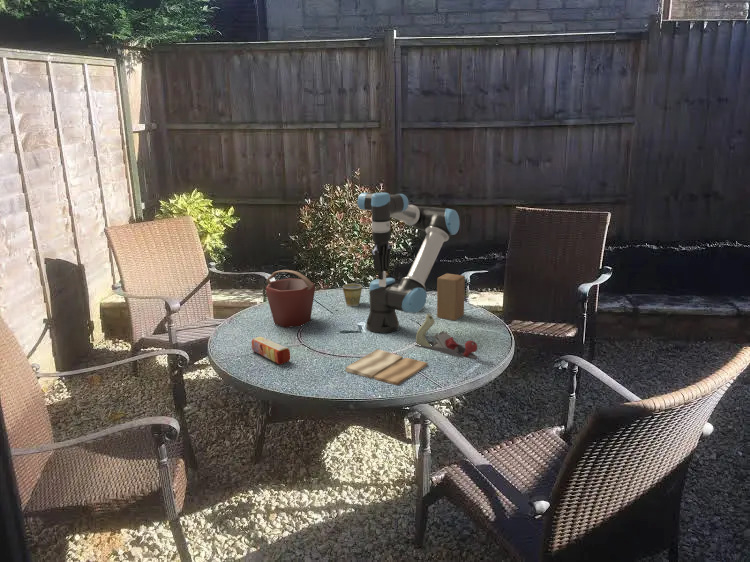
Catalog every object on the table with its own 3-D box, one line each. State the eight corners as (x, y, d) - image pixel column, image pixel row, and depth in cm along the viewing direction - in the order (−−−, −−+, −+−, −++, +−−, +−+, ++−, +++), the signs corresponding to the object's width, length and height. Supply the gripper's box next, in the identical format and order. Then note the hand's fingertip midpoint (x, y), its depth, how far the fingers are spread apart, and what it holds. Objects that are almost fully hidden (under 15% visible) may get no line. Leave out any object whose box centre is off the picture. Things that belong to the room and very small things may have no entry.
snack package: (250, 352, 266) (249, 337, 264) (264, 348, 270) (263, 333, 268) (277, 366, 251) (276, 350, 249) (291, 362, 255) (290, 346, 253)
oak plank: (374, 381, 235) (374, 376, 234) (405, 362, 252) (405, 357, 252) (397, 387, 229) (397, 382, 229) (427, 367, 247) (427, 362, 246)
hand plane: (419, 341, 275) (419, 308, 272) (480, 358, 256) (481, 323, 252) (409, 345, 270) (409, 312, 266) (471, 363, 251) (472, 328, 247)
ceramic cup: (355, 308, 321) (354, 289, 318) (339, 305, 326) (338, 287, 324) (369, 302, 331) (368, 283, 329) (353, 299, 337) (353, 281, 334)
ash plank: (345, 371, 242) (345, 367, 241) (377, 353, 260) (377, 349, 259) (373, 381, 235) (373, 376, 235) (404, 361, 253) (404, 357, 252)
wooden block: (464, 315, 308) (465, 275, 303) (455, 320, 300) (456, 280, 295) (445, 311, 313) (446, 273, 308) (436, 317, 305) (437, 277, 300)
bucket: (258, 321, 304) (255, 271, 297) (294, 310, 319) (291, 262, 313) (291, 333, 288) (288, 280, 281) (327, 320, 303) (325, 270, 297)
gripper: (380, 234, 251) (381, 291, 257) (397, 228, 261) (398, 283, 268) (364, 232, 255) (366, 288, 261) (382, 227, 265) (383, 281, 272)
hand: (382, 286), depth 265 cm, fingers closed
